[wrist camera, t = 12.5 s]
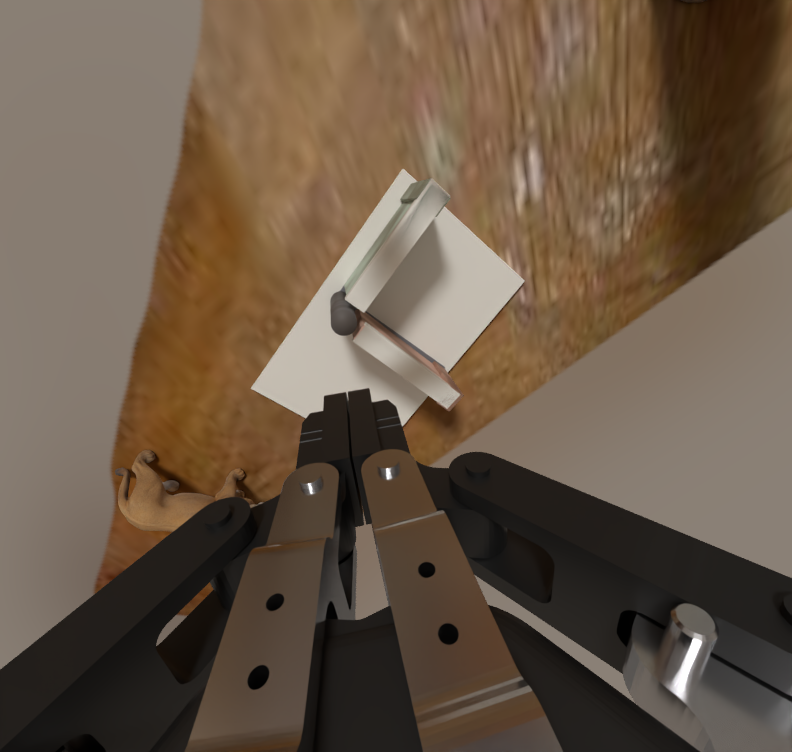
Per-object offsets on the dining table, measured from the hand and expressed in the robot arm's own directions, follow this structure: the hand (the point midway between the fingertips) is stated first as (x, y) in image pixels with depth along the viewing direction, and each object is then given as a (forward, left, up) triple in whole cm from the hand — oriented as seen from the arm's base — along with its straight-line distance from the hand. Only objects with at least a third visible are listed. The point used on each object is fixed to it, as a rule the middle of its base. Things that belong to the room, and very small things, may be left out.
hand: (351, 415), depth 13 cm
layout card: (+1, +6, -21) cm, 22 cm away
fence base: (-4, +1, -21) cm, 21 cm away
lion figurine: (+22, 0, -22) cm, 31 cm away
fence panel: (+1, +7, -20) cm, 22 cm away
